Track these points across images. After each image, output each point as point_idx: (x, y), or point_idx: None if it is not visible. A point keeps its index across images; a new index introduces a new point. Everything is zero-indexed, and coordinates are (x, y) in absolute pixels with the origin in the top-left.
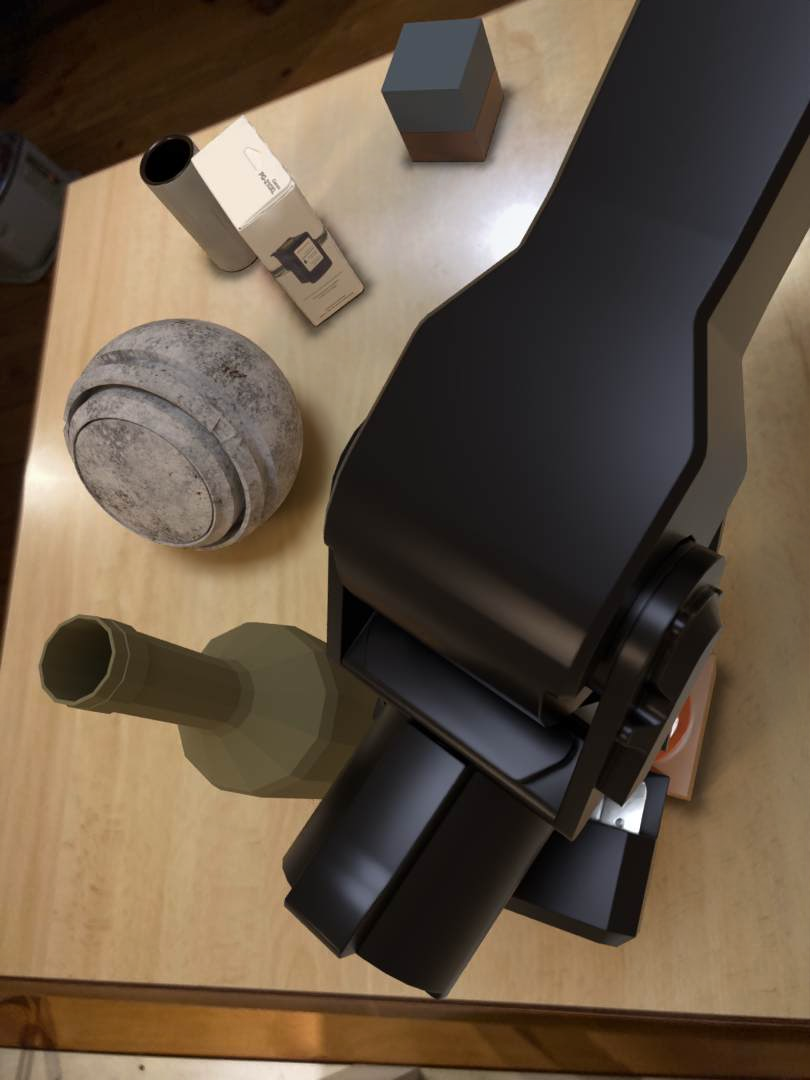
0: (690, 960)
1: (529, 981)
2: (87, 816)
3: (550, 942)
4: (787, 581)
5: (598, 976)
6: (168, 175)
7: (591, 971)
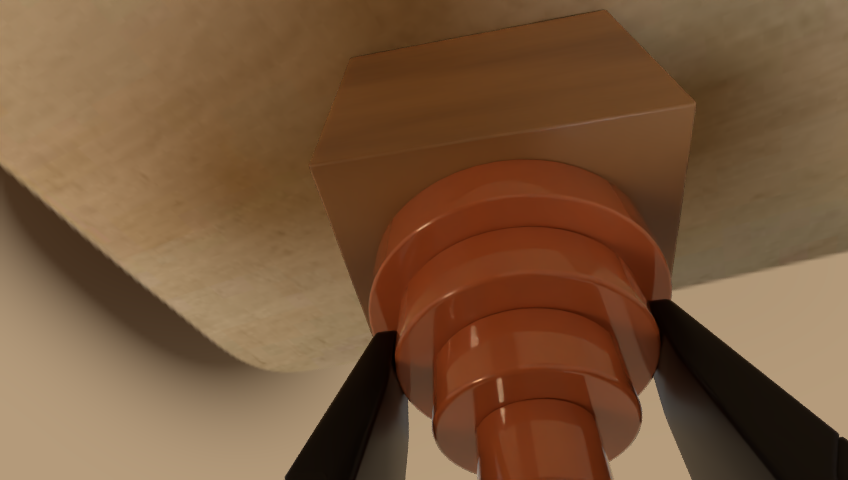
0: (224, 301)
1: (15, 150)
2: None
3: (88, 155)
4: (769, 255)
5: (115, 226)
6: None
7: (111, 217)
